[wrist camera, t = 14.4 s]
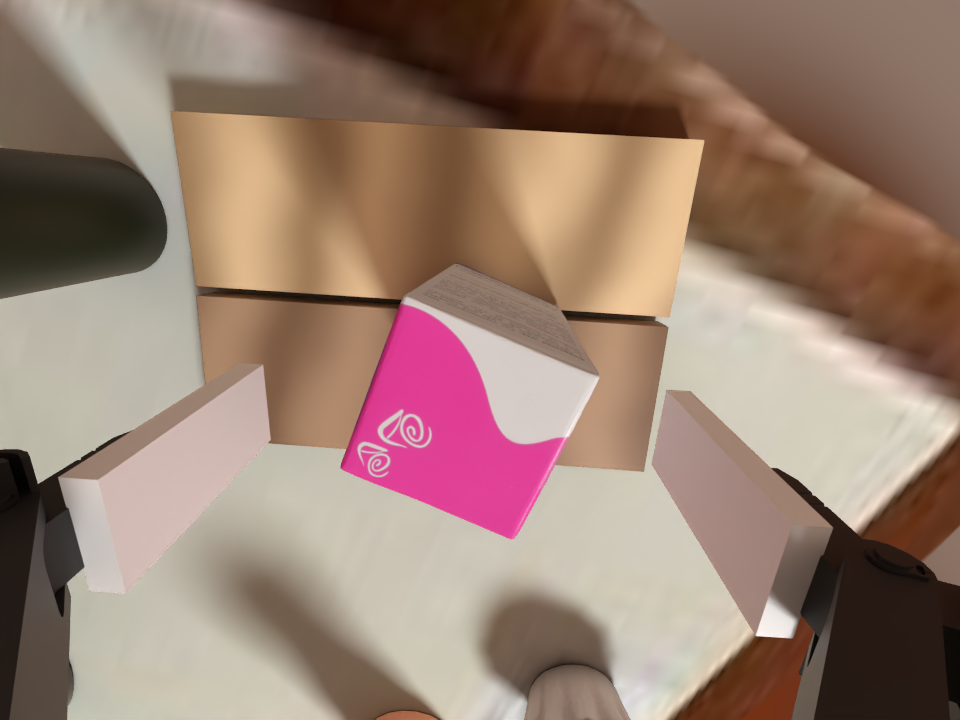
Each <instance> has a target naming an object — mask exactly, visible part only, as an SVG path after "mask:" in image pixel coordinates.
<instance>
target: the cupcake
mask: <svg viewBox="0 0 960 720" xmlns="http://www.w3.org/2000/svg"><path fill="white" fill-rule="evenodd" d="M524 720H631V719H630V718H629V716H628V714H627V712H626V710H625V708H624V706H623V704H622V702H621V700H620V698H619V695H618V693H617V691H616V689H615V687H614V685H613V684H612V683H611V682H610V680H609V679H608V678H607V677H606V676H605V675H604V674H602V673H601V672H599V671H597V670H595V669H593V668H590V667H588V666H583V665H561V666H557V667H554V668H551V669H549V670H547V671H545V672H543V673H542V674H541V675H540V676H539V677H538V678H537V679H536V680H535V682H534V683H533V685H532V686H531V688H530V692H529V697H528V703H527V708H526V713H525V718H524Z"/></svg>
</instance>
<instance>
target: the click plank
mask: <svg viewBox="0 0 960 720" xmlns="http://www.w3.org/2000/svg"><path fill="white" fill-rule="evenodd" d="M196 297H197V307H198V316H199V326H200V335H201V345H202V355H203V364H204V374H205V383H206V384H207V383H209V382H210V381H212V380H214V379H215V378H217V377H218V376H220V375H222V374H223V373H225V372H226V371H228V370H230V369H231V368H233V367H234V366H236V365H237V364H239V363H247V364H263V368H264V378H265V388H266V398H267V408H268V418H269V428H270V438H271V440H270V441H269V442H268V443H273V444H286V445H300V446H313V447H326V448H339V449H347V447H348V444H349V441H350V439H351V436H352V433H353V430H354V428H355V425H356V422H357V419H358V417H359V414H360V411H361V409H362V406H363V403H364V400H365V397H366V395H367V392H368V389H369V387H370V384H371V381H372V378H373V375H374V373H375V370H376V367H377V365H378V362H379V359H380V357H381V354H382V351H383V348H384V346H385V343H386V340H387V337H388V335H389V332H390V330H391V327H392V324H393V321H394V319H395V316H396V313H397V311H398V308H399V306H400V304H388V303H373V302H358V301H343V300H328V299H313V298H297V297H282V296H267V295H252V294H237V293H222V292H213V293H208V294H203V295H198V296H196ZM564 316H565V318H566V320H567V321H568V323H569V325H570V327H571V328H572V330H573V332H574V333H575V335H576V337H577V338H578V340H579V342H580V343H581V345H582V347H583V348H584V350H585V351H586V353H587V355H588V356H589V358H590V359H591V361H592V363H593V364H594V366H595V368H596V369H597V371H598V373H599V375H600V378H599V380H598V382H597V384H596V386H595V388H594V390H593V392H592V394H591V396H590V398H589V400H588V402H587V403H586V405H585V407H584V409H583V411H582V414H581V416H580V417H579V419H578V421H577V423H576V425H575V427H574V429H573V431H572V433H571V435H570V437H569V439H568V441H567V443H566V445H565V447H564V448H563V450H562V452H561V454H560V456H559V458H558V460H557V462H556V464H555V465H563V466H576V467H589V468H602V469H615V470H629V471H642V472H644V468H645V462H646V456H647V450H648V444H649V438H650V432H651V427H652V421H653V415H654V409H655V403H656V397H657V391H658V386H659V380H660V374H661V368H662V362H663V356H664V350H665V345H666V339H667V333H668V327H667V326H665V325H663V324H662V323H660V322H658V321H644V320H629V319H614V318H599V317H584V316H569V315H564Z"/></svg>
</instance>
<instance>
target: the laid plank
mask: <svg viewBox="0 0 960 720" xmlns="http://www.w3.org/2000/svg"><path fill="white" fill-rule="evenodd" d="M171 117H172V124H173V131H174V138H175V144H176V151H177V158H178V165H179V172H180V178H181V185H182V192H183V199H184V205H185V212H186V219H187V226H188V232H189V239H190V246H191V253H192V260H193V266H194V273H195V280H196V286H204V287H219V288H234V289H249V290H264V291H279V292H294V293H309V294H325V295H340V296H355V297H370V298H385V299H400V300H402V299H403V297H404V295H406V294H408V293H409V292H411V291H412V290H414V289H416V288H417V287H419V286H420V285H422V284H424V283H425V282H427V281H428V280H430V279H431V278H433V277H435V276H436V275H438V274H439V273H441V272H442V271H444V270H446V269H447V268H449V267H450V266H452V265H454V264H455V263H460V264H462V265H465V266H467V267H469V268H472V269H474V270H476V271H478V272H481V273H483V274H485V275H487V276H490V277H492V278H494V279H497V280H499V281H501V282H504V283H506V284H508V285H510V286H513V287H515V288H517V289H519V290H522V291H524V292H526V293H528V294H531V295H533V296H535V297H537V298H540V299H542V300H544V301H546V302H549V303H551V304H553V305H555V306H558V307H559V308H560V310H567V311H582V312H597V313H612V314H627V315H642V316H658V317H670V312H671V307H672V302H673V297H674V292H675V287H676V282H677V277H678V272H679V267H680V261H681V256H682V251H683V246H684V241H685V236H686V231H687V226H688V221H689V216H690V211H691V206H692V200H693V195H694V190H695V185H696V180H697V175H698V170H699V165H700V160H701V155H702V150H703V144H704V140H692V139H673V138H655V137H637V136H619V135H600V134H582V133H564V132H545V131H527V130H509V129H491V128H472V127H454V126H436V125H417V124H399V123H381V122H363V121H344V120H326V119H308V118H289V117H271V116H253V115H235V114H216V113H198V112H180V111H171Z"/></svg>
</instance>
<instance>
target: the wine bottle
mask: <svg viewBox="0 0 960 720" xmlns="http://www.w3.org/2000/svg"><path fill="white" fill-rule="evenodd" d="M166 239H167V222H166V217H165V213H164V210H163V207H162V205H161V202H160V200H159V198H158V197H157V195H156V193H155V192H154V190H153V189H152V188H151V186H150V185H149V184H148V183H147V182H146V181H145V180H144V179H143V178H142V177H141V176H140V175H139V174H138V173H136V172H135V171H134V170H132V169H131V168H129V167H127V166H125V165H123V164H121V163H119V162H116V161H113V160H109V159H104V158H94V157H84V156H74V155H65V154H55V153H45V152H35V151H25V150H16V149H6V148H0V299H2V298H8V297H13V296H18V295H23V294H28V293H33V292H38V291H43V290H48V289H53V288H58V287H63V286H68V285H74V284H79V283H84V282H89V281H94V280H99V279H104V278H109V277H114V276H119V275H124V274H129V273H134V272H139V271H142V270H144V269H146V268H148V267H150V266H151V265H152V264H153V263H155V262H156V261H157V259H158V258H159V257H160V255H161V254H162V252H163V250H164V247H165V244H166Z"/></svg>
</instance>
